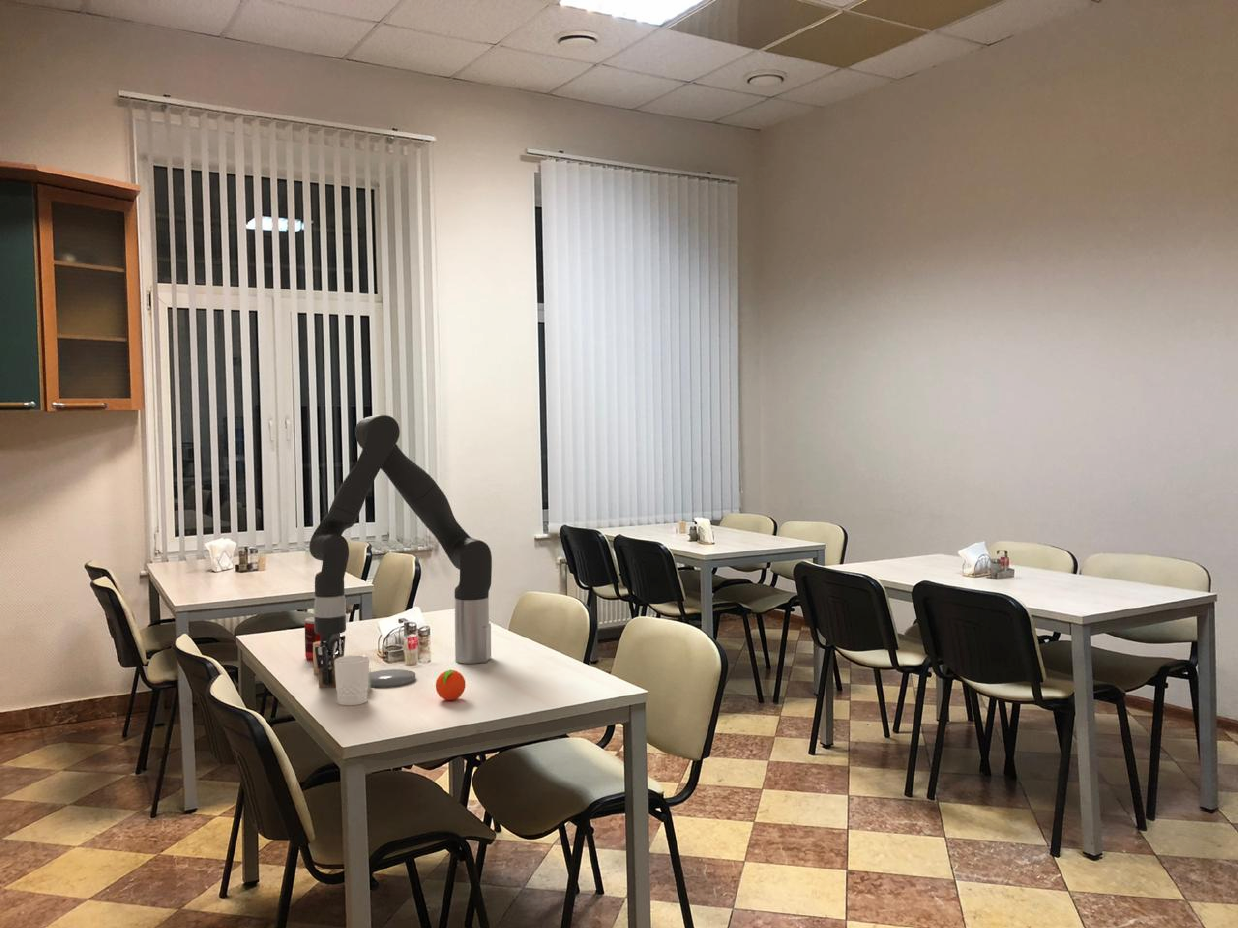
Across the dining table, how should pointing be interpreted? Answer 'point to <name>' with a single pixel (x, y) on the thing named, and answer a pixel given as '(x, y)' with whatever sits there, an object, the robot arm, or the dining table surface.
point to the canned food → (310, 637)
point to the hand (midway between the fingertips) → (331, 681)
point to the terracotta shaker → (316, 670)
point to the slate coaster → (391, 678)
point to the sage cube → (369, 681)
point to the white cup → (352, 679)
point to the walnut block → (332, 674)
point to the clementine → (450, 685)
